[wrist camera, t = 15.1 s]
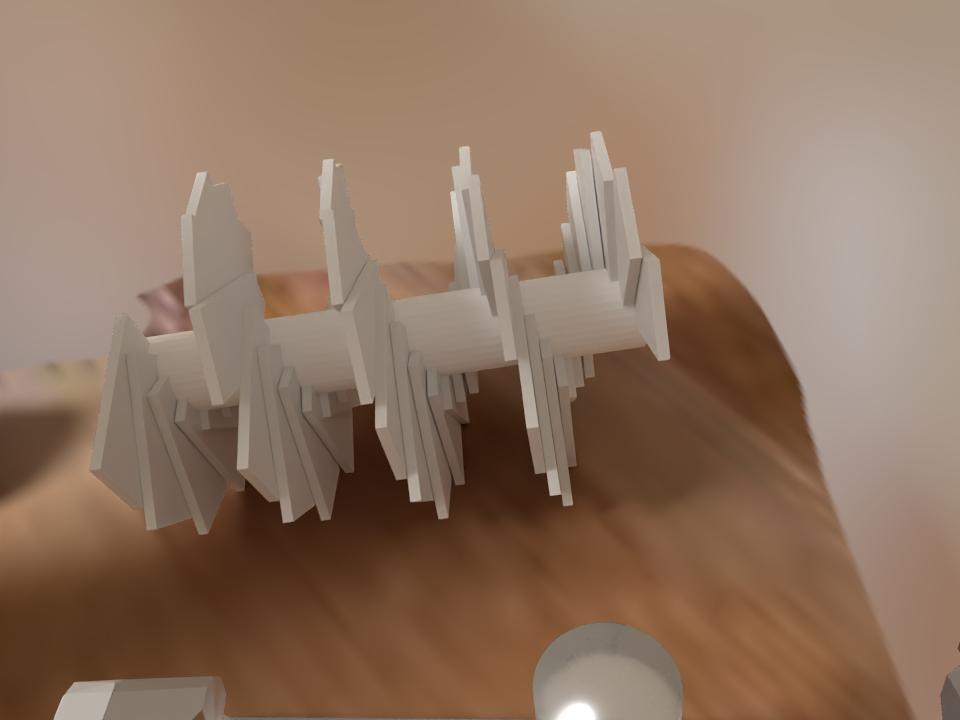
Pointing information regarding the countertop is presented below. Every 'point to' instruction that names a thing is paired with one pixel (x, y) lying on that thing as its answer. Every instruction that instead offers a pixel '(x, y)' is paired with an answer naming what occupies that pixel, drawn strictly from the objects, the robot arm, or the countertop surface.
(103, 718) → the robot arm
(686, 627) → the countertop surface
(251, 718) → the board
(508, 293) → the spiral staircase
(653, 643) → the metal post on plate
